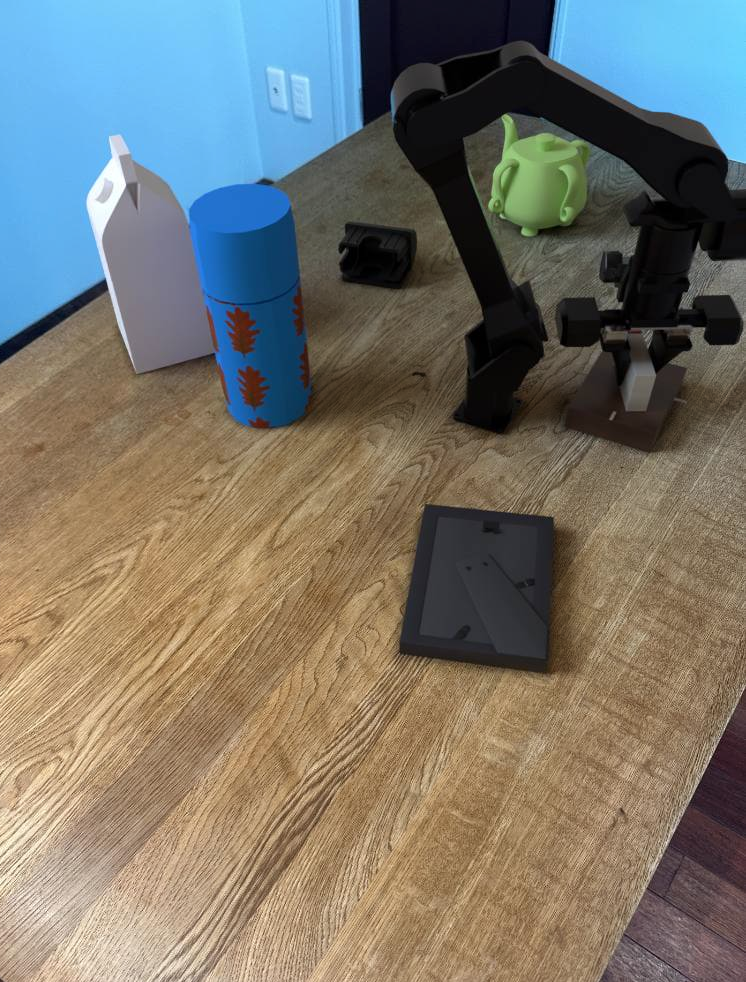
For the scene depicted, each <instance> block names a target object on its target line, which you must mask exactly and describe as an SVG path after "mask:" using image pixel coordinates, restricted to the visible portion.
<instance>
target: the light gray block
mask: <svg viewBox="0 0 746 982" xmlns="http://www.w3.org/2000/svg"><path fill="white" fill-rule="evenodd" d="M627 338H628V341H629V344H630V348H631V351H630V355H629V360H628V364H627V369H626V374H625V378H624V381H623V383H622V385H621V386H619V387H620V390H621V394H622V398H623V402H624V405H625V409H626V411H646V409H647V406H648V402H649V399H650V395H651V392H652V388H653V385H654V382H655V378H656V373H655V370H654V367H653V364H652V361H651V358H650V354H649V351H648V348H649V347H648V345H647V342H646V340H645V339H646V338H645V336H644V333H643V330H630V331H629V333H628V337H627ZM613 364H614V362H613Z"/></svg>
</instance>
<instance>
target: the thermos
mask: <svg viewBox="0 0 746 982" xmlns="http://www.w3.org/2000/svg"><path fill="white" fill-rule="evenodd" d="M188 218H189V220H188V221H189V227H190V234H191V239H192V244H193V249H194V254H195V259H196V263H197V268H198V273H199V278H200V283H201V287H202V292H203V297H204V302H205V307H206V312H207V317H208V321H209V326H210V331H211V336H212V341H213V346H214V350H215V353H214V354H215V360H216V364H217V369H218V375H219V379H220V384H221V388H222V391H223V396H224V399H225V402H226V406H227V410H228V412H229V414H230V415H231V416H232V418H233V419H234V421H237V422H239V423H240V424H242V425H243V426H247V427H252V428H256V429H274V428H278V427H282V426H286V425H289V424H291V423H293V422H294V421H297V420H298V419H300V418H301V417H302V416H303V415H305V413H306V412H307V411H308V409H309V407H310V405H311V402H312V390H311V389H312V387H311V371H310V370H311V369H310V360H309V350H308V342H307V341H308V340H307V332H306V322H305V320H306V319H305V311H304V303H303V295H302V294H303V291H302V283H301V273H300V272H301V271H300V264H299V254H298V243H297V234H296V225H295V218H294V214H293V209H292V205H291V201H290V196H288V195H287V194H286V193H285V192H284V191H282V190H281V189H278V188H276V187H274V186H271V185H267V184H266V185H265V184H260V183H259V184H258V183H238V184H237V183H236V184H231V185H227V186H221V187H218V188H215V189H213V190H211V191H208V192H206V193H203V194H202V195H201V196H200V197H198V198H197V199H194V201H193V203H192V204H191V205H190V207H189V209H188Z"/></svg>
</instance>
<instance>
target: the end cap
mask: <svg viewBox="0 0 746 982" xmlns="http://www.w3.org/2000/svg"><path fill="white" fill-rule="evenodd" d="M417 249H418V235H417V232H416V230H415V229H414V228H406V227H399V226H391V225H382V224H374V223H366V222H359V221H353V220H352V221H351V220H348V221H347V222H346V223H345V224H344V237H342V239H341V241H340V242H339V243H338V248H337V251H338V254H340V255H343V256H342V257H341V259H340V260H339V263H338V265H339V270H340V272H341V273H342V274H341V280H342V282H349V283H355V284H362V285H367V286H374V287H382V288H388V289H395V290H396V289H397V290H399V289H400V288H402V286H403V284H404V283H405V281H406V280H407V278H408V276H409V274H410V272H411V271H413V268H414V264H415V261H416V255H417ZM344 252H345V253H344ZM343 253H344V254H343Z"/></svg>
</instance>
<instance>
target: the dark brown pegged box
mask: <svg viewBox="0 0 746 982" xmlns="http://www.w3.org/2000/svg"><path fill="white" fill-rule="evenodd" d="M687 371H688V367H685V366H682V365H678V364H674V363H671V362H669V363H667V364H666V365H665V366H664V367H663V368H662V369H661V370H660V371H659V372H658V373H657V374H656V378H655V382H654V385H653V388H652V392H651V395H650V399H649V402H648V406H647V409H646V411H626V409H625V405H624V402H623V398H622V394H621V390H620V387H619V386H618V385H617V382H616V376H615V369H614V364H613V355H612V353H611V352H604V351H603V350H602V349H601V351H600V354H599V355H598V357H597V358H596V360H595V362H594V363H593V365H592V367H591V368H590V370H589V372H588V373H587V372H585V371H581V370H577V369H574V370H573V373H575V374H578V375H581V376H586V377H585V378H584V380H583V382H582V383H581V384H580V387H579V388H578V390H577V391H576V393H575V395H574V397H572V400H571V402H570V403H569V405H568V407H567V412H566V417H565V420H564V427H565V428H567V429H571V430H574V431H578V432H581V433H584V434H587V435H590V436H594V437H596V438H600V439H603V440H607V441H610V442H614V443H617V444H620V445H623V446H626V447H630V448H633V449H636V450H640V451H642V452H646V453H651V451H652V449H653V447H654V445H655V442H656V441H657V439H658V437H659V435H660V432H661V431H662V428H663V426H664V424H665V422H666V420H667V418H668V416H669V415H670V412H671V409H672V407H673V406H674V404H675V402H679V403H682V404H685V405H687V403H688V400H686V399H682V398H679V397H678V395H679V393H680V391H681V389H682V386H683V383H684V381H685V376H686V374H687Z"/></svg>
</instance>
